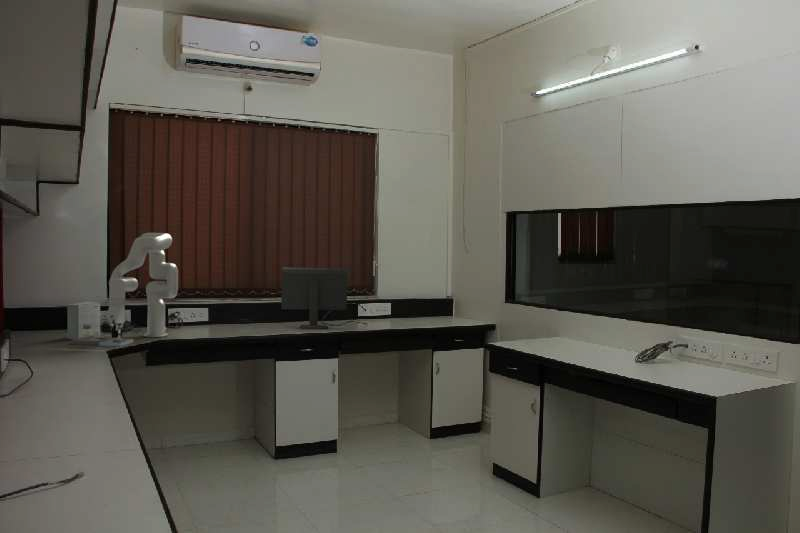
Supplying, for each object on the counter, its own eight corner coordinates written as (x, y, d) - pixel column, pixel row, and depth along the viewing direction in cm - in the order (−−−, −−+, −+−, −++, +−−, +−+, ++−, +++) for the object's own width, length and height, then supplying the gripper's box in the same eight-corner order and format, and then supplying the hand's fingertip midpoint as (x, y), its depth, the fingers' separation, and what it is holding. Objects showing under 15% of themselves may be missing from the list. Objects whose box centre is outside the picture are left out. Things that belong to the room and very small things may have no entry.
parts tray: (112, 343, 330) (113, 338, 330) (133, 343, 330) (133, 339, 329) (99, 347, 316) (99, 342, 316) (120, 348, 316) (120, 343, 315)
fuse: (85, 341, 328) (85, 324, 328) (92, 341, 328) (92, 324, 327) (81, 342, 324) (81, 325, 324) (88, 342, 324) (88, 325, 324)
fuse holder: (87, 341, 334) (88, 334, 334) (115, 342, 333) (115, 335, 333) (71, 346, 318) (71, 338, 318) (99, 346, 317) (99, 339, 317)
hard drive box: (90, 337, 350) (90, 301, 349) (100, 338, 347) (101, 302, 347) (66, 340, 335) (67, 303, 335) (77, 341, 333) (78, 304, 332)
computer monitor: (346, 326, 427) (347, 268, 426) (346, 329, 411) (347, 269, 410) (282, 325, 424) (283, 267, 423) (279, 328, 408) (280, 267, 407)
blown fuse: (114, 342, 325) (115, 324, 324) (122, 342, 325) (122, 325, 324) (111, 343, 321) (111, 325, 321) (118, 343, 321) (118, 325, 321)
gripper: (118, 300, 331) (117, 334, 331) (101, 303, 314) (101, 339, 315) (131, 300, 330) (131, 335, 331) (116, 303, 314) (116, 339, 314)
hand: (116, 336), depth 323 cm, fingers closed on blown fuse, 3 cm apart
